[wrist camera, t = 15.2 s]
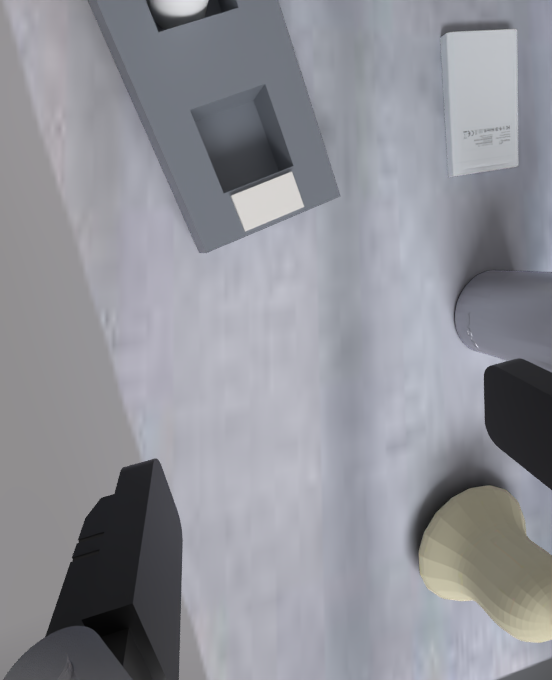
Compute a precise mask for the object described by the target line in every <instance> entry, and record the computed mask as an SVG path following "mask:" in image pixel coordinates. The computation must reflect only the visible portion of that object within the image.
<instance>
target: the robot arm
mask: <svg viewBox="0 0 552 680" xmlns="http://www.w3.org/2000/svg"><path fill="white" fill-rule="evenodd" d="M455 324H456V330H457V333H458V335H459V337H460V339H461V340H462V342H463V343H464V344H465V345H466V346H467V347H468V348H470V349H472V350H474V351H478V352H481V353H484V354H488V355H491V356H494V357H498V358H501V359H504V360H507V361H506V362H503V363H499V364H495V365H492V366H489V367H488V368H487V369H486V370H485V373H484V404H485V425H486V429H487V432H488V434H489V436H490V438H491V439H492V441H493V442H494V443H495V445H496V446H498V447H499V448H500V449H501V450H502V451H504V452H505V453H506V454H507V455H509V456H510V457H511V458H512V459H514V460H515V461H516V462H517V463H519V464H520V465H521V466H522V467H524V468H525V469H526V470H527V471H529V472H530V473H531V474H532V475H534V476H535V477H536V478H537V479H539V480H540V481H541V482H542V483H544V484H545V485H546V486H547V487H549V488H550V489H551V490H552V272H538V271H516V270H515V271H501V270H490V271H485V272H483V273H481V274H479V275H477V276H476V277H474V278H473V279H472V280H471V281H470V282H469V283H468V284H467V285H466V286H465V288H464V289H463V291H462V293H461V294H460V297H459V299H458V302H457V306H456V311H455ZM78 540H79V543H78V544H77V545H76V548H75V551H74V553H73V556H72V558H73V562H71V563H70V566H69V568H68V572H67V574H66V578H65V580H64V583H63V586H62V589H61V592H60V595H59V599H58V601H57V604H56V607H55V610H54V613H53V616H52V619H51V622H50V625H49V628H48V631H47V634H46V636H45V638H43V639H42V640H40V641H39V642H37V643H36V644H35V645H33V646H32V647H31V648H30V649H29V650H28V651H27V652H25V653H24V654H23V655H22V656H21V657H20V658H19V659H18V661H17V662H16V663H15V664H14V665H13V666H12V668H11V669H10V670H9V672H8V673H7V674H6V676H5V677H4V679H3V680H179V650H180V613H181V578H182V529H181V523H180V518H179V515H178V511H177V508H176V506H175V503H174V500H173V497H172V494H171V492H170V489H169V486H168V483H167V480H166V477H165V475H164V472H163V469H162V466H161V464H160V462H159V460H158V459H152V460H148V461H145V462H141V463H138V464H134V465H130V466H127V467H123V468H122V470H121V472H120V476H119V479H118V483H117V487H116V490H115V494H113V495H110V496H106V497H103V498H101V499H100V500H99V501H98V503H97V504H96V505H95V507H94V508H93V509H92V511H91V512H90V513H89V514H88V516H87V517H86V518H85V521H84V524H83V527H82V530H81V533H80V536H79V539H78Z"/></svg>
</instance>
